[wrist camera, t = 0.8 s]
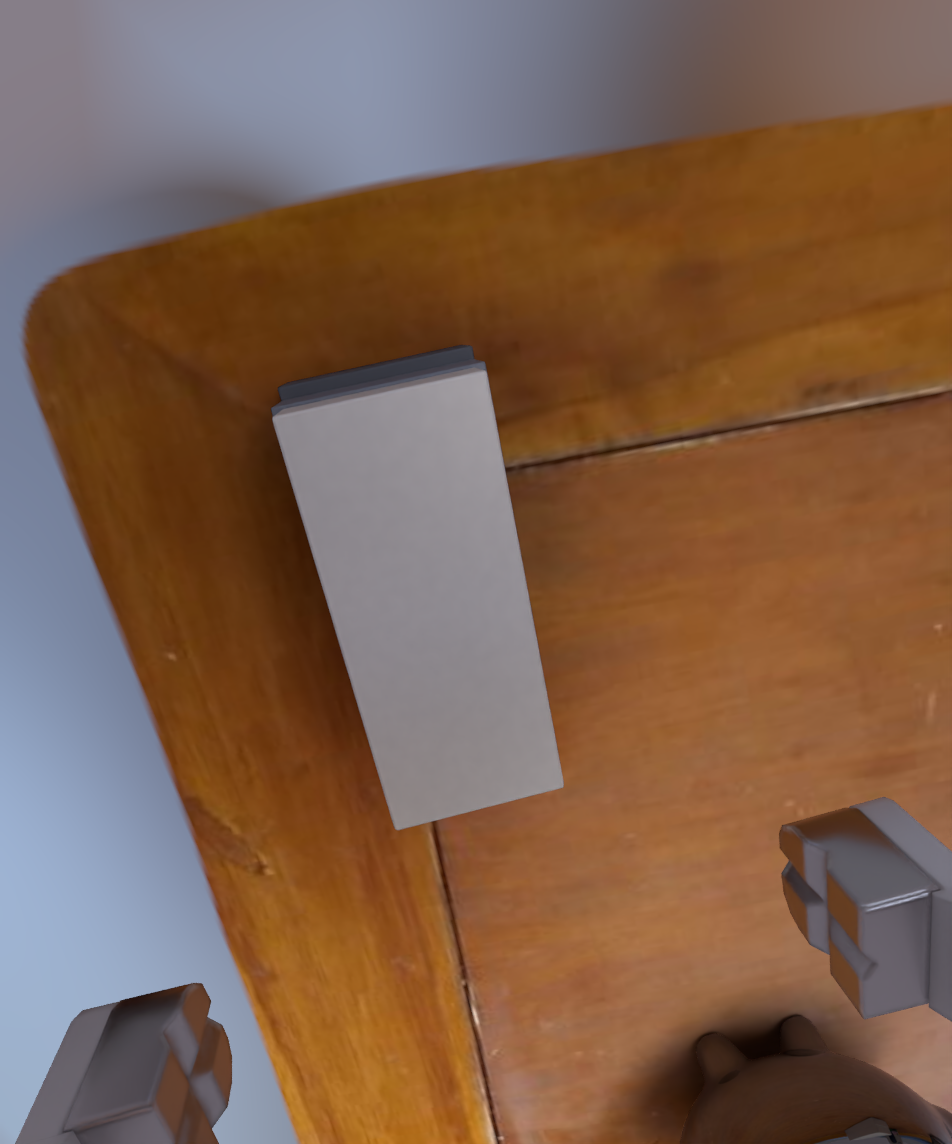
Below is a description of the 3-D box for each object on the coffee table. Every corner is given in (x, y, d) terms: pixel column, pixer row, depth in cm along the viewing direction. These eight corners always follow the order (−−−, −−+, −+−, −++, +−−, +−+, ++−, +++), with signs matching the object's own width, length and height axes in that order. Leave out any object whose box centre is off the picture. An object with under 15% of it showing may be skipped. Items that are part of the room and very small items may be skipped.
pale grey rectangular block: (280, 409, 19) (270, 416, 17) (477, 366, 19) (486, 369, 17) (393, 796, 23) (395, 832, 21) (551, 755, 23) (565, 788, 22)
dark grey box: (286, 382, 23) (265, 393, 18) (463, 344, 23) (482, 345, 19) (388, 738, 27) (390, 809, 23) (533, 702, 28) (560, 766, 24)
